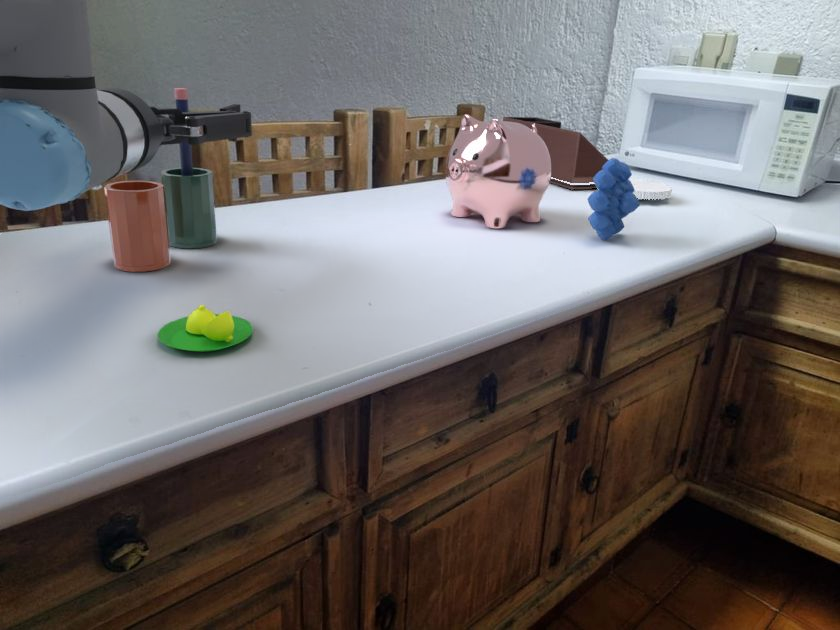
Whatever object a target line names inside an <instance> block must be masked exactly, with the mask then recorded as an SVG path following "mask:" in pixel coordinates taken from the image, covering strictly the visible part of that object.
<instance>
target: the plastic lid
mask: <svg viewBox="0 0 840 630" xmlns="http://www.w3.org/2000/svg"><path fill="white" fill-rule="evenodd" d="M629 180H630V181H631V183H632V185H633V187H634V190H635V191H634V192H633V194H634V195H635V196H636V198H638V199H637V200H642V199H644V200H645V199H646V200H645V201H647V199H648V201H660V200H659V199H661V200H666V199H665V198H668V197H670V196H671V197H672V193H673V192H672V191H673V188H672V186H670V185H668V184H665V183H662V182H657V181H654V180H648V179H640V178H632V177H630V178H629ZM671 197H670V198H671ZM650 199H652V200H650ZM653 199H654V200H653ZM656 199H658V200H656ZM668 199H669V198H668Z"/></svg>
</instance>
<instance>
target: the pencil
mask: <svg viewBox="0 0 840 630" xmlns="http://www.w3.org/2000/svg"><path fill="white" fill-rule="evenodd" d="M173 91H174V99H175V109H179V110H180V111H181V112H182V113H183V112H190V109H189V94H188V92H189V91H188V88H186V87H175V88H174V90H173ZM178 148H179V160H180V163H179V164H180V168H181V175H182V176H191V175H193V168H194V165H193V151H192V150H193V149H192V145H189V144H187V138H185V139H184V141H183V142H182V143H180V144H178Z"/></svg>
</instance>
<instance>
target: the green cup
mask: <svg viewBox="0 0 840 630" xmlns="http://www.w3.org/2000/svg"><path fill="white" fill-rule="evenodd" d="M160 178H161V179H160V180H161V184H163V185H164V190H165V201H166V212H167V223H168V234H169V245H170V247H173V248H177V249H187V250H188V249H201V248H208V247H211V246H213V245H216V243H217V221H216V220H217V219H216V206H215V205H216V204H215V187H214V174H213V171H212V170H210V169H207V168H202V167H193V175H191V176H182V175H181V167H173V168H167V169H164V170H161V171H160Z"/></svg>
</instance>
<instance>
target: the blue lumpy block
mask: <svg viewBox="0 0 840 630" xmlns="http://www.w3.org/2000/svg"><path fill="white" fill-rule="evenodd" d="M602 169H603V170H601V171H599V172H598V173H597V174H596V175H595V176H594V178H593V181H594V183H595V185H596V187H597V189H599V190H597V189H596V190H595V191H593V192H592V193H591V194H590V195H589V196H588V197H587V202H588V205H589V207H590V209H591V210H592V211H594V212H592V213H591V214H590V215H589V216H588V217H587V219H588V222H589V225H590V226H591V228H592V229H593V230H594V231H595V232H596V235H597V236H598V238H599V239H601V240H608V239H610V238H612V237H613V236H614V235H616V234H618V233H620V232H621V231H622V230H623V229H624V228H625V224H624V222H623V220H622V219H624V218H625V217H627V216H629V215H630V214H632V213H634V212H635V211H636V210H637V209H638V208H639V207H640V202H639V199H637V198H636V196H635V195H634V194H633V192H634V191H635V190H634V187H633V185H632V183H631V181H630V180H629V178H631V177H632V175H633V174H632V170H631V168H630V167H629V166H628V164H627V163H625V162H624V161H620V160H619V159H618V158H615V157H612V158H610V159H608V161H607V162H606V163H605V164H604V165H603V167H602Z"/></svg>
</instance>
